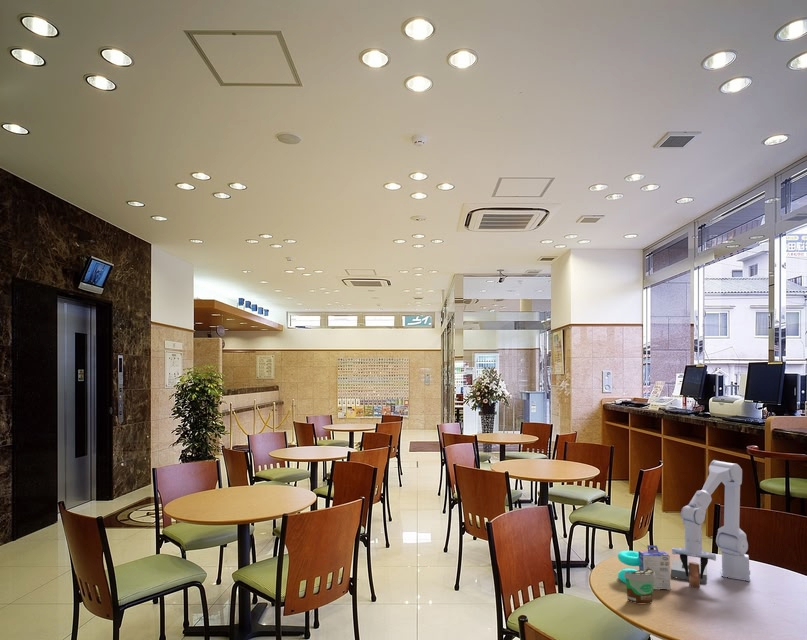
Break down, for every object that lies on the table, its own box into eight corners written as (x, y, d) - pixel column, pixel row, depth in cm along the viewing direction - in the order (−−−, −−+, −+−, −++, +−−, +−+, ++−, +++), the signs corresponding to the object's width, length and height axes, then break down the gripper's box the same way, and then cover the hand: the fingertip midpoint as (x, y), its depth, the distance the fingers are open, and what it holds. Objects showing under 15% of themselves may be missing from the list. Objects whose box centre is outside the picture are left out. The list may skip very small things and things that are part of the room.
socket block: (706, 573, 224) (706, 565, 224) (706, 583, 213) (706, 575, 213) (673, 567, 229) (673, 560, 230) (671, 577, 219) (671, 569, 219)
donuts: (652, 557, 212) (628, 559, 209) (652, 584, 211) (629, 587, 208) (634, 548, 221) (612, 550, 219) (635, 575, 221) (612, 577, 218)
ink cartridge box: (665, 584, 211) (664, 544, 212) (671, 590, 206) (670, 549, 207) (638, 583, 212) (637, 544, 213) (644, 589, 206) (643, 548, 207)
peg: (699, 585, 211) (699, 562, 212) (699, 588, 208) (699, 565, 209) (689, 583, 213) (688, 561, 214) (689, 586, 210) (688, 564, 211)
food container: (639, 608, 190) (638, 577, 191) (624, 601, 196) (624, 571, 196) (664, 601, 196) (663, 571, 197) (649, 595, 201) (648, 566, 202)
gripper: (671, 539, 212) (672, 576, 211) (715, 545, 205) (716, 584, 204) (672, 534, 218) (673, 570, 217) (715, 540, 211) (716, 577, 210)
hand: (694, 576), depth 211 cm, fingers open, 4 cm apart
